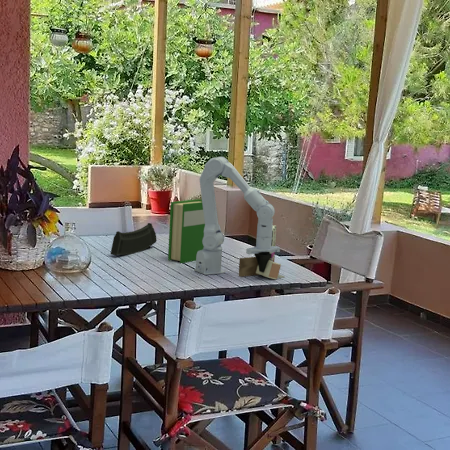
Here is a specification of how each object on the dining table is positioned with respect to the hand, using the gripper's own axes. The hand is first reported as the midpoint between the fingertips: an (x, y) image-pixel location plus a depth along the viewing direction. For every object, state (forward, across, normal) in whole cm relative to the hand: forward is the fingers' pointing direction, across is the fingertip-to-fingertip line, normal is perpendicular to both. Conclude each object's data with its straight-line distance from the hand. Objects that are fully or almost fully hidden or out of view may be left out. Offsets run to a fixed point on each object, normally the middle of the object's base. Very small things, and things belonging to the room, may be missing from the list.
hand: (261, 271), depth 258 cm
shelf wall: (+2, 0, +5) cm, 5 cm away
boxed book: (+2, +2, 0) cm, 3 cm away
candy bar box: (+3, +14, +15) cm, 21 cm away
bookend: (+2, +7, +1) cm, 8 cm away
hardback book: (+3, -9, +38) cm, 39 cm away
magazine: (+3, -24, +58) cm, 62 cm away
